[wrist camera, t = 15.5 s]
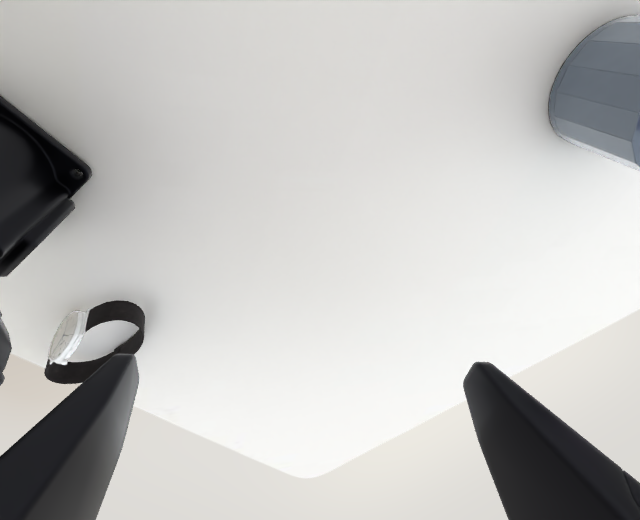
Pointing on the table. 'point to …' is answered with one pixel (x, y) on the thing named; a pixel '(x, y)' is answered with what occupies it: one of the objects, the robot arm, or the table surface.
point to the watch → (74, 332)
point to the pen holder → (602, 93)
